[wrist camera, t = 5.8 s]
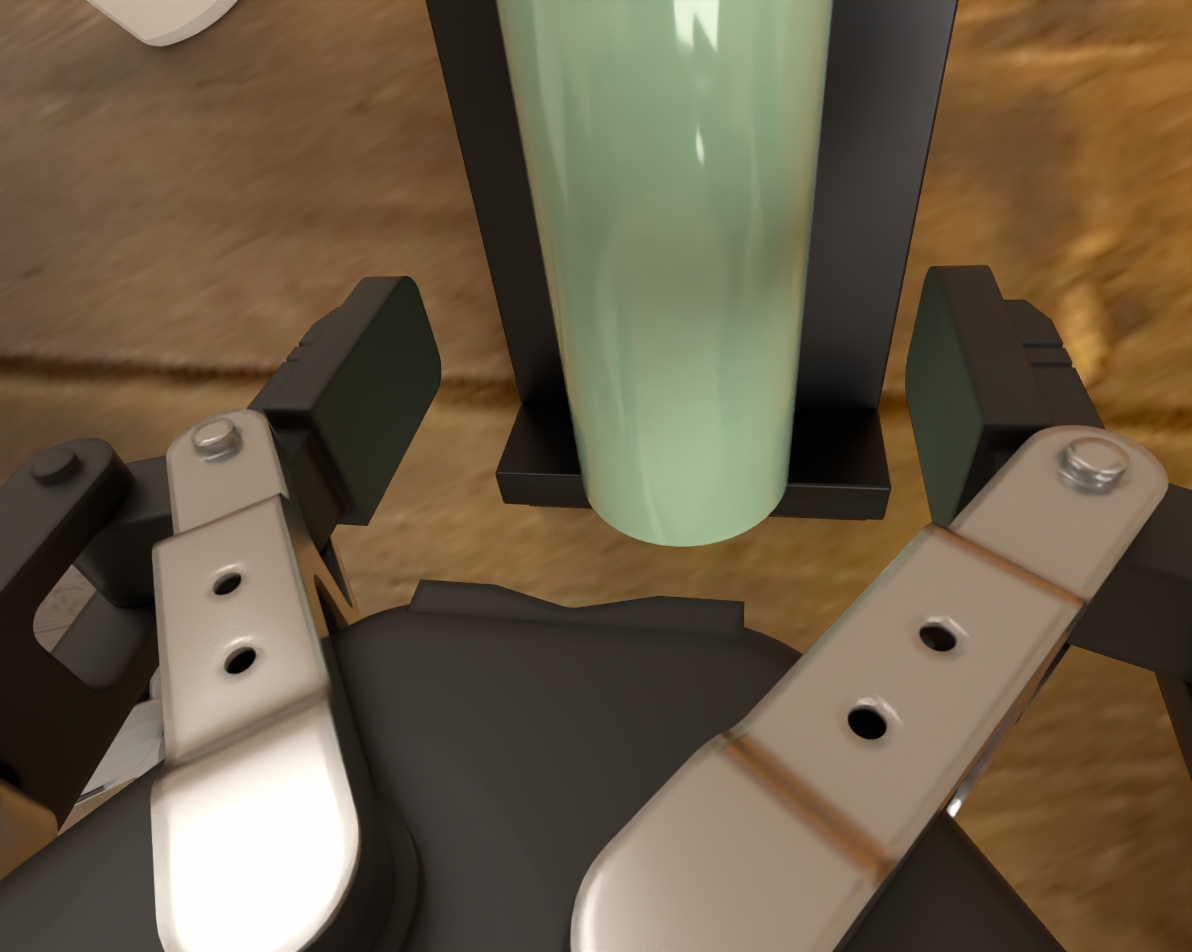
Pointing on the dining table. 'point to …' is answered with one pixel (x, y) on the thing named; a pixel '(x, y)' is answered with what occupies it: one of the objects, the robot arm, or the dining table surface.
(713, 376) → the bottle
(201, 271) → the dining table surface
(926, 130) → the cradle
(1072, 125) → the dining table surface
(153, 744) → the glass holder
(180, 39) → the eye dropper bottle
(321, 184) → the dining table surface
